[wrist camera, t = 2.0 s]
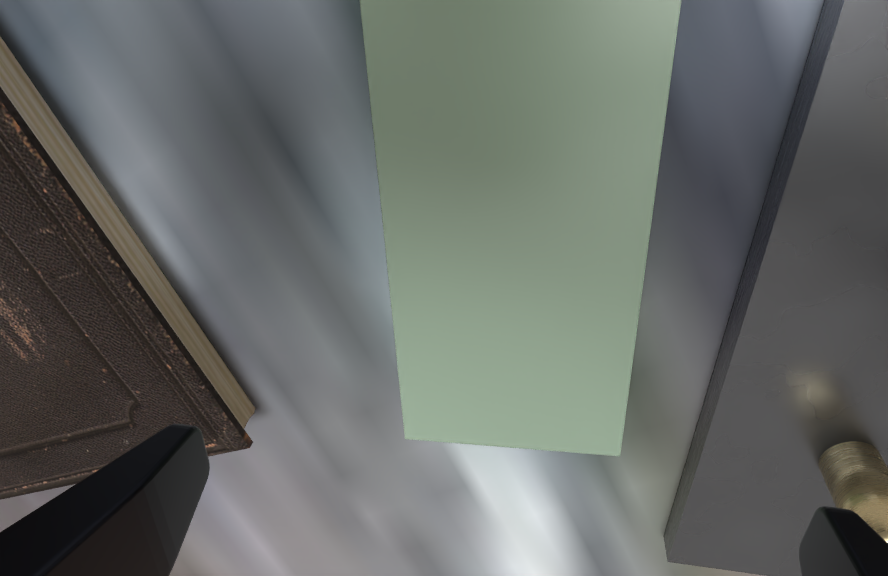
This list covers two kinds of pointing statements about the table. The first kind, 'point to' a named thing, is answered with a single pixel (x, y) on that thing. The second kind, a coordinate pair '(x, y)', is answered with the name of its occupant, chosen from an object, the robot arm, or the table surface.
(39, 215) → the hardcover book
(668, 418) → the table surface
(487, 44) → the green block
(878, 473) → the standoff chassis
